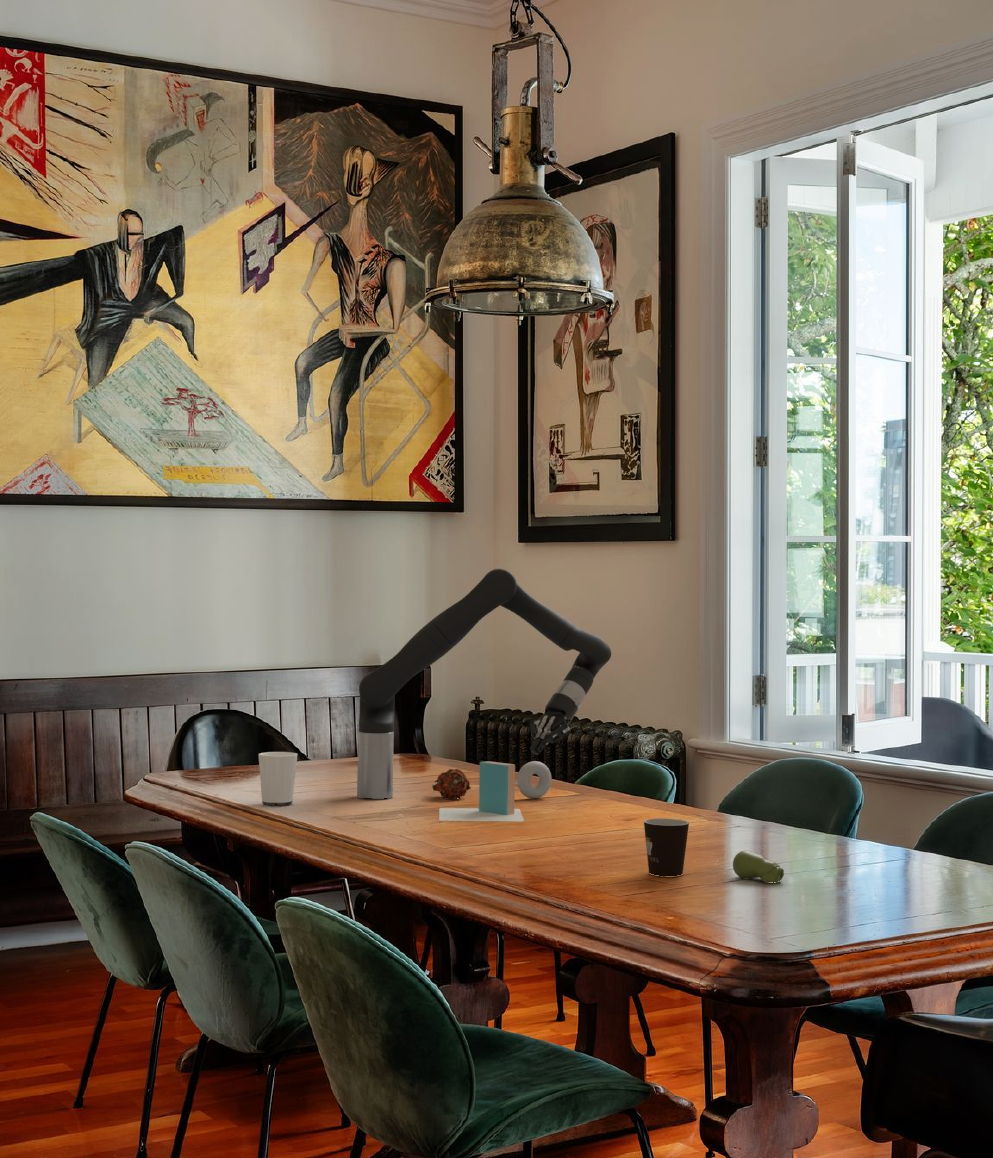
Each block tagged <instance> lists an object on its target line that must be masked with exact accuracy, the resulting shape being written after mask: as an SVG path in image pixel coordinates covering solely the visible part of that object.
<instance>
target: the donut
mask: <svg viewBox="0 0 993 1158" xmlns="http://www.w3.org/2000/svg"><path fill="white" fill-rule="evenodd" d="M533 775H537V776H538V783H537V784H536V785H535V786H533V785H532V784H531V782H530V781H531V780H530V779H531V777H532V776H533ZM516 783H517V784H516V785H517V788H518V790H519V792H520V793H521V794H522V795H523V796H524V797H526V798H528V799H530V798H531V800H535V799H534V798H537V799H540V798H542V797H544V796H545V795H546V794H547V793H548V791H549V790H550V788H551V786H552V773H551V771H550V768H549V767H548V766H547V765H546V764H545V763H543V762H541V761H538V760H537V761H536V760H534V761H529V762H527V763H525V764H524V765H522V767H521V768H520V769H519V771H518V774H517V777H516Z"/></svg>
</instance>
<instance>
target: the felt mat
mask: <svg viewBox="0 0 993 1158" xmlns="http://www.w3.org/2000/svg"><path fill="white" fill-rule="evenodd" d="M438 814H439V815H438V819H439V820H438V822H439V821H440V822H512V823H513V822H514V823H515V822H517V823H518V822H519V823H520V822H521V823H522V822H525V820H524V817H523V814H522V811H521V809H520V808H514V814H511V815H502V814H495V813H489V812H482V811H479V807H478V808H477V807H476V808H475V807H474V808H473V807H469V808H468V807H439V810H438Z"/></svg>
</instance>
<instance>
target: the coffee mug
mask: <svg viewBox="0 0 993 1158" xmlns="http://www.w3.org/2000/svg"><path fill="white" fill-rule="evenodd" d="M689 825H690V823H689V821H687V820H683V819H676V818H664V817H663V818H662V817H661V818H659V817H657V818H647V819H645V820H643V827H644V835H645V846H646V855H647V867H648V874H649V873H651V874H654V875H659V876H677V875H681V874H684V865H685V858H686V851H687V850H686V849H687V843H688V833H689V827H690V826H689Z"/></svg>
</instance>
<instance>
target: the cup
mask: <svg viewBox="0 0 993 1158" xmlns="http://www.w3.org/2000/svg"><path fill="white" fill-rule="evenodd" d="M258 763H259V764H258V766H259V777H260V778H259V779H260V790H261V791H260V793H261V802H262V804H263V805H265V804H266V806H268V807H272V806H274V805H275V804H276V805H277V806H279V807H284V806H285V804H291V805H292V803H293V800H294V791H295V790H294V789H295V782H296V781H295V780H296V773H297V764H298V753H296V752H290V751H267V752H261V753H258Z"/></svg>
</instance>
